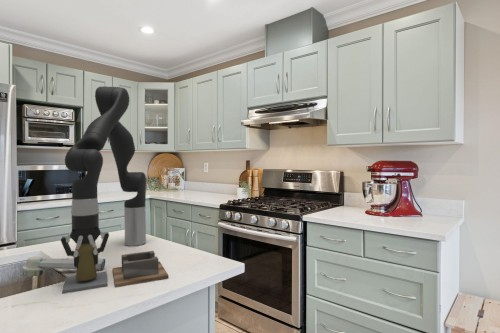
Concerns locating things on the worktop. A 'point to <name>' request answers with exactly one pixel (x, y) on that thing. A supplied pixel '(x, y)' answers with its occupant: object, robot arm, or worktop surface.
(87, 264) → the olive pawn
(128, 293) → the worktop surface
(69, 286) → the mat
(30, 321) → the worktop surface
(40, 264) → the toothbrush head
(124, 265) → the collar block
